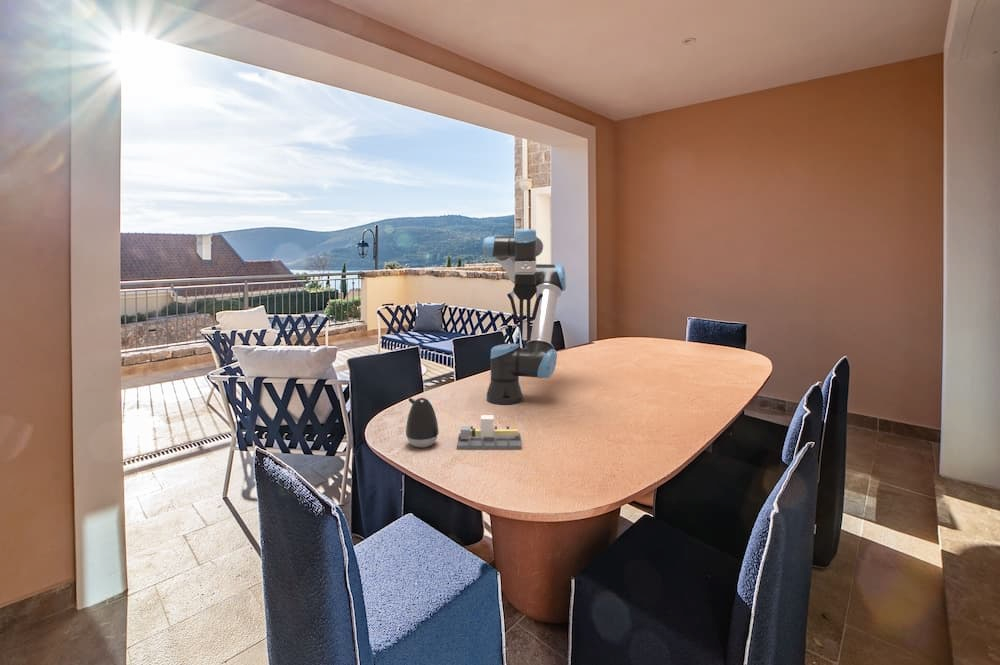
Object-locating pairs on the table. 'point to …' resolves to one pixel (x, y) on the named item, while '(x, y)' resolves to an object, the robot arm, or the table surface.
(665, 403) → the table surface
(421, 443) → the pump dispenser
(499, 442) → the cable comb
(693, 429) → the table surface
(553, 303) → the robot arm
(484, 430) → the sleeve
